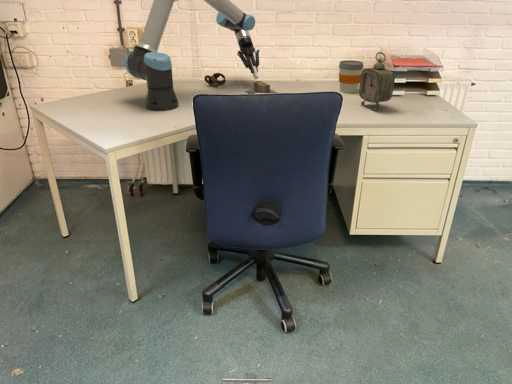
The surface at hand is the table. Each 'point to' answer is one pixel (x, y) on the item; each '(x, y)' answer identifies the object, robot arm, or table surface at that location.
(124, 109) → the table surface
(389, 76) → the tabletop clock
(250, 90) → the rubber mat
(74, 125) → the table surface
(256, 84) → the walnut block
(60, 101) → the table surface
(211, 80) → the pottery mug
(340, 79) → the reusable coffee cup
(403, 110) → the table surface
